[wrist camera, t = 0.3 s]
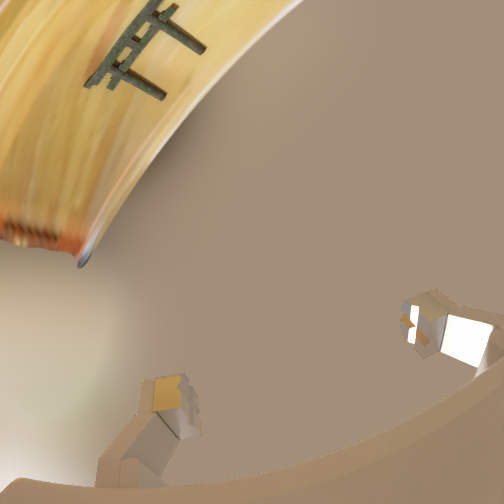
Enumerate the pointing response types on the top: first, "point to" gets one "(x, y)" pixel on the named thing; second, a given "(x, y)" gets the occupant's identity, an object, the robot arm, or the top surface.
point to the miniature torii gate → (140, 49)
